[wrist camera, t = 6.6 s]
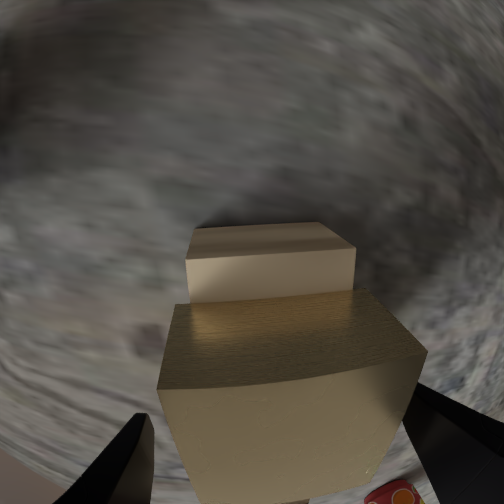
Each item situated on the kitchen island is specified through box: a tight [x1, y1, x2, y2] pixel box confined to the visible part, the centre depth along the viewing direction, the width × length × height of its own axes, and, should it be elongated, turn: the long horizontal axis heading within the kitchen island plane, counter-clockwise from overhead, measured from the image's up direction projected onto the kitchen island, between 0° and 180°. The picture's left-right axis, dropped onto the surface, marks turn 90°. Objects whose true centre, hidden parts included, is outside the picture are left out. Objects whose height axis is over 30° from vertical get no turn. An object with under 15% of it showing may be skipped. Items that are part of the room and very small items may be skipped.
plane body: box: [185, 222, 356, 504], centre depth 15 cm, size 22×6×4 cm, turn 2°
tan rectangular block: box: [157, 288, 428, 504], centre depth 9 cm, size 7×6×4 cm
